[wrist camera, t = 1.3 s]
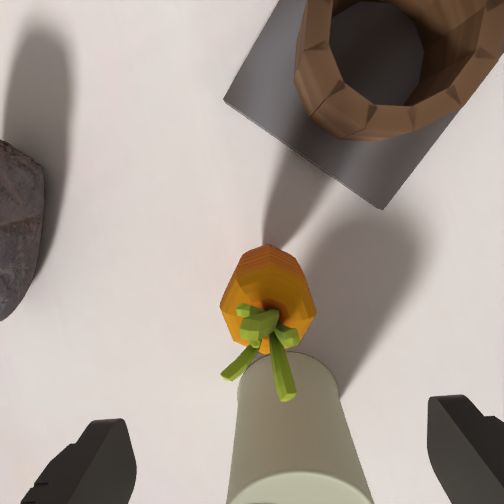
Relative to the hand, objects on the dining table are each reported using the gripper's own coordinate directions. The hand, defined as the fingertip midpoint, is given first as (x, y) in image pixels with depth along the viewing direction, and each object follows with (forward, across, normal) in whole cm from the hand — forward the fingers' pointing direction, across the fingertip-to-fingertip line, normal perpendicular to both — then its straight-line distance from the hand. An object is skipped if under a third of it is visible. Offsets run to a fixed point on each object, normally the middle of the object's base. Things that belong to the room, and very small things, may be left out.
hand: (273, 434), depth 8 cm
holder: (+18, -8, -13) cm, 24 cm away
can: (+18, 0, +14) cm, 23 cm away
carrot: (+18, 0, 0) cm, 18 cm away
